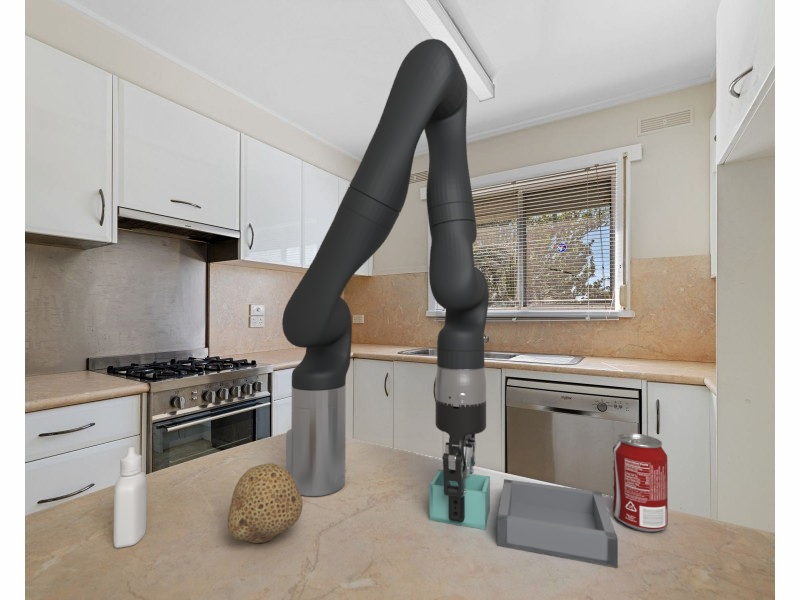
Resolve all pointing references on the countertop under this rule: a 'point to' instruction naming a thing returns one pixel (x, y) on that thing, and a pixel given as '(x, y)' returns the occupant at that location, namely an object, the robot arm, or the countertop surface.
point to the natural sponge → (264, 504)
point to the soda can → (640, 482)
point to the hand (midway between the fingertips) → (460, 508)
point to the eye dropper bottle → (130, 501)
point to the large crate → (557, 522)
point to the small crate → (474, 501)
